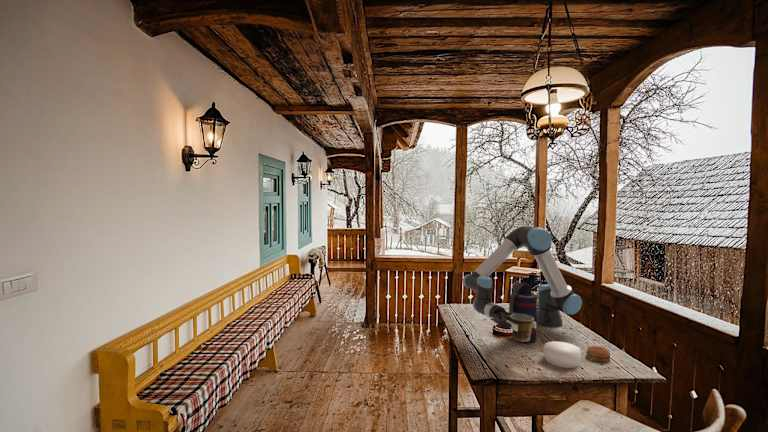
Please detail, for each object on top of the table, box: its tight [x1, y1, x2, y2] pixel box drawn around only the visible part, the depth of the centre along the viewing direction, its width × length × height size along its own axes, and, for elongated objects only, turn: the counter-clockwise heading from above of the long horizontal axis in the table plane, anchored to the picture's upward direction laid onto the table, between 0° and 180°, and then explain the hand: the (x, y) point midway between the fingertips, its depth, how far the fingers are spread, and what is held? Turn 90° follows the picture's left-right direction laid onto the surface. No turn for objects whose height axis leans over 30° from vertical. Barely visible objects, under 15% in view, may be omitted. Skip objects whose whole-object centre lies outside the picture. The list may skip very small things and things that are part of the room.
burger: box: [586, 345, 611, 363], centre depth 173 cm, size 10×9×5 cm
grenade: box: [508, 281, 538, 344], centre depth 195 cm, size 14×12×30 cm
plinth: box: [544, 341, 582, 369], centre depth 170 cm, size 15×15×6 cm
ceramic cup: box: [505, 314, 534, 343], centre depth 168 cm, size 13×10×10 cm
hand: (526, 326), depth 164 cm, fingers closed on ceramic cup, 9 cm apart
